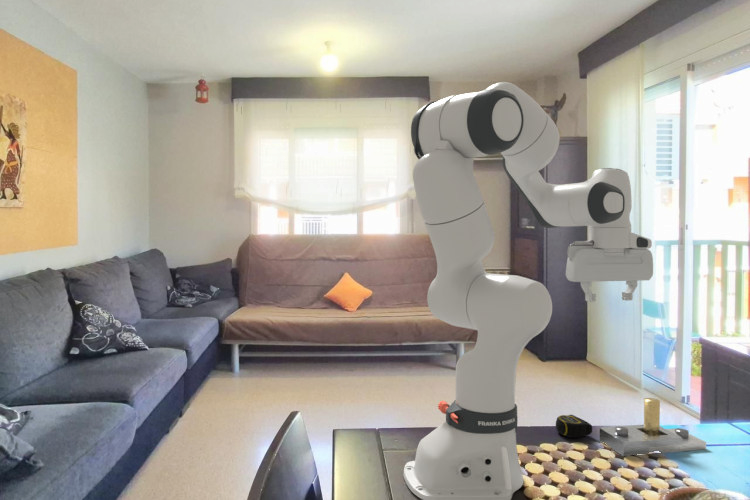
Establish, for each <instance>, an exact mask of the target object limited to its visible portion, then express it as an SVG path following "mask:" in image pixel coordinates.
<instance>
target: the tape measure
mask: <svg viewBox="0 0 750 500" xmlns="http://www.w3.org/2000/svg"><path fill="white" fill-rule="evenodd" d="M555 429H556V431H557V432H558V433H559V434H561V435H563V436H566V437H569V438H583V437H586V436H589V435H591V434H592V433H593V426H592V424H591V423H589V422H588V421H586V420H584V419H582V418H580V417H577V416H575V415H574V414H567V415H565V414H561V415H559V416H557V418H556V420H555Z"/></svg>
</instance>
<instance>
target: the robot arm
mask: <svg viewBox="0 0 750 500" xmlns="http://www.w3.org/2000/svg"><path fill="white" fill-rule="evenodd" d="M410 137H411V143H412V146H413V152H414V155H415V156H416V158H417V159H418V160H417V162H416V163H415V164H414V166H413V169H412V180H413V186H414V191H415V192H414V193H415V196H416V200H417V205H418V208H419V211H420V214H421V217H422V220H423V223H424V225H425V228H426V230H427V233H428V237H429V239H430V243H431V245H432V249H433V251H434V254H435V255H434V256H435V259H436V270H437V271H436V276H435V278H434V279H433V280H432V281H431V283H430V285H429V287H428V289H427V295H426V300H427V301H426V302H427V307H428V309H429V312H430V313H431V314H432V316H433V317H434V318H436V319H438V320H440V321H442V322H444V323H446V324H448V325H451V326H453V327H458V328H463V329H469V330H474V331H477V339H476V343H475V346H474V347H473V349H471V350H469V351H467V352H465V353H464V354H462V355H461V356H460V357H458V358H459V359H458V360H457V362H456V365H455V399H454V401H452V402H451V404H449V403H448V402H447V401H445V400H441V401H439V403H438V404H437V407H438V410H439V411H440V412H441V413H442V414H444V415H445V421H443V422H442V423H441V424H440V425H439V426H437V427H436V428H435V429H434V430H432V431H431V432H429V433H428V434H427V435H425V436H424V437H423V438H421V439H420V441H419V443H418V445H417V448H416V452H415V460H412V461H411V460H410V461H408V462H406V463H405V465H404V468H403V479H404V482H405V484H406V486H407V487H408V489H409V490H410V491H411V492H412V493H413V494H414V495H415V496H416V497H418V498H419V499H420V500H512V498H513V495H514V493H515V492H516V491H518V490H519V489H521V488H522V487H523V485H524V475H523V474H522V470H521V465H520V461H519V455H518V448H517V432H518V420H519V419H518V418H519V417H518V406H517V404H516V381H517V379H516V378H517V369H518V364H519V359H520V357H521V354H522V353H523V350H524V349H525V347H526V346H527V345H528V343H529V342H530V341H531V340H532V339H533V338H535V337H536V336H538V335H539V334H541V333H542V332H543V331H544V330H545V329H546V328H547V326H548V324H549V323H550V321H551V317H552V314H553V302H552V297H551V294H550V292H549V290H548V289H547V288H546V286H545V285H544V284H543V283H542V282H540V281H537V280H534V279H530V278H528V277H524V276H520V275H515V274H502V273H489V272H487V271H486V270H485V268H484V267H483V262H482V260H483V259H484V258H485V257H487V256H488V255H489V254H490V252H491V251H492V249H493V247H494V244H495V239H496V234H495V231H494V229H493V226H492V222H491V219H490V216H489V215H490V214H489V213H488V209H487V207H486V203H485V200H484V197H483V195H482V192H481V189H480V187H479V185H478V182H477V180H476V178H475V176H474V162H475V161H474V160H475V158H479V157H483V156H493V155H497V154H501V156H502V167H503V170H504V172H505V174H506V175H507V177H508V179H509V180H510V181H511V183H512V184H513V185H514V187H515V188H516V190H517V191H518V192H519V194H520V195H521V196H522V197H523V199H524V200H525V202H526V204H527V205H528V206H529V208H530V210H531V213H532V215H533V217H534V219H535V221H536V222H538V224H539V225H540V226H541V227H543V228H546V229H554V228H555V229H557V228H562V227H584V226H585V227H588V240H574V241H573V242H572V243H570V244H569V246H568V247H567V261H566V266H565V267H566V268H565V277H566V279H567V280H568V281H569V282H575V283H580V287H581V289H582V291H583V293H584V297H585V299H584V301H586V302H589V303H591V302H593V303H594V302H596V297H597V295H596V293H593V291H592V290H591V287H592V283H593V282H625V285H627V287H626V289H625V291H624V292H621V299H622V301H626V302H628V301H633V298H634V297H633V296H634V295H633V294H634V292H635V291H636V289H637V287H638V282H639V281H641V282H642V281H643V282H644V281H650V280H651V278H652V277H653V275H654V258H653V257H654V256H653V253H652V251H651V250H650V248H652V243H653V242H652V239H650V238H648V237H645V236H642V235H639V234H636V233H634V232H632V224H631V220H630V216H631V215H630V214H631V211H632V204H633V203H632V188H631V186H632V185H631V181H630V176H629V174H628V171H625V170H623V169H620V168H612V167H606V168H605V167H604V168H598V169H596V170H594V171H593V172H592V174H591V178H588V179H587V180H585V181H582V182H574V183H565V184H554V183H549V182H546V180H545V179H544V177H543V176H542V174H541V173H540V171H541V170H543V169H544V168H545V167H547V165H548V164H549V163H550V162H551V161H552V160H553V159H554V157H555V156H556V153H557V151H558V149H559V146H560V141H561V140H560V131H559V129H558V126H557V124H556V123H555V121H554V120H553V119H552V118H551V116H550V115H549V114H548V113H547V112H546V111H545V110H544V108H542V106H541V105H540V104H539V103H538V102H537V101H536V99H534V98H533V97H532V96H530V95H529V94H528V93H526V91H524V90H523V89H522V88H520V87H518V86H517V85H515V84H514V83H512V82H508V81H500V82H496V83H494V84H491V85H489V86H488V87H487V88H486V89H483V90H481V91H476V92H475V91H474V92H468V93H457V94H454V95H450V96H447V97H444V98H442V99H439V100H435V101H431V102H429V103H427V104H425V105H424V106H422V107H421V108H420V109H419V110H417V111H416V112H415V114H414V115H413V118H412V120H411V125H410Z"/></svg>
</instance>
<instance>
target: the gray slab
mask: <svg viewBox="0 0 750 500" xmlns="http://www.w3.org/2000/svg"><path fill="white" fill-rule="evenodd" d="M599 442H600V443H602V442H604V443H606V444H607V445H608V446H610V448H609V449H611V448H612V449H613V450H612V449H611V450H612V451H614V450H615V451H614V452H616V453H617V452H618V453H617V454H619V455H620V454H621V456H622V457H624V456H625V457H628V456H627V455H636V456H638V455H637V454H646V453H649V452H654V451H659V452H662V453H661V454H667V453H678V452H689V451H699V450H707V441H705V440H703V439H701V438H699V437H696V436H694V435H692V434H691V433H689V430H687V429H684V428H680V427H675V428H664V427H662V426H659V436H649V435H647V434H645V433H644V424H634V425H632V424H631V425H621V426H620V425H619V426H608V427H599ZM608 446H607V447H608Z"/></svg>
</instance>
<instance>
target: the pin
mask: <svg viewBox="0 0 750 500" xmlns="http://www.w3.org/2000/svg"><path fill="white" fill-rule="evenodd" d="M643 406H644V407H643V425H644V433H645V434H647V435H649V436H659V426H660V424H661V423H660V417H661V415H660V414H661V413H660V412H661V411H660V409H661V408H660V407H661V400H660V399H659V398H658V399H657V398H653V397H645V398H644V399H643ZM660 427H661V426H660Z"/></svg>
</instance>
